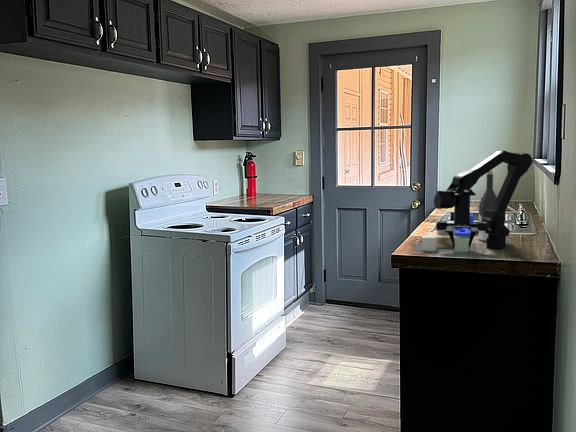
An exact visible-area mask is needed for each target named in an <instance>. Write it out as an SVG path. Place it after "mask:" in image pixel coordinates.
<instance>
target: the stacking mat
mask: <svg viewBox="0 0 576 432" xmlns="http://www.w3.org/2000/svg"><path fill="white" fill-rule="evenodd" d="M453 233H454V235H455V228H453ZM437 235H449V234H448V233H446V232H445V230H436V236H437ZM413 251H414V252H423V251H422V241H417V242H416V245H415V247H414V250H413ZM425 252H428V253H429V252H430V253H435V252H436V253H457V252H456V251H455V248H443V247H436V251H425ZM460 253H464V254H465V253H466V254H467V253H468V254H470V253H471V254H477V253H478V250H477V245H476V243H475V242H472V243H471V246H470V249H469V252H459V254H460Z"/></svg>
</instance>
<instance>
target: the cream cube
mask: <svg viewBox="0 0 576 432" xmlns="http://www.w3.org/2000/svg"><path fill="white" fill-rule="evenodd" d="M436 237H437V235H423V236H422V239H421V242H422V251H421V252H426V251H436Z"/></svg>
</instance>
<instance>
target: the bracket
mask: <svg viewBox="0 0 576 432" xmlns="http://www.w3.org/2000/svg"><path fill="white" fill-rule="evenodd" d="M470 224H474V213H470ZM470 229H471V228H455V236H465V237H470Z"/></svg>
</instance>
